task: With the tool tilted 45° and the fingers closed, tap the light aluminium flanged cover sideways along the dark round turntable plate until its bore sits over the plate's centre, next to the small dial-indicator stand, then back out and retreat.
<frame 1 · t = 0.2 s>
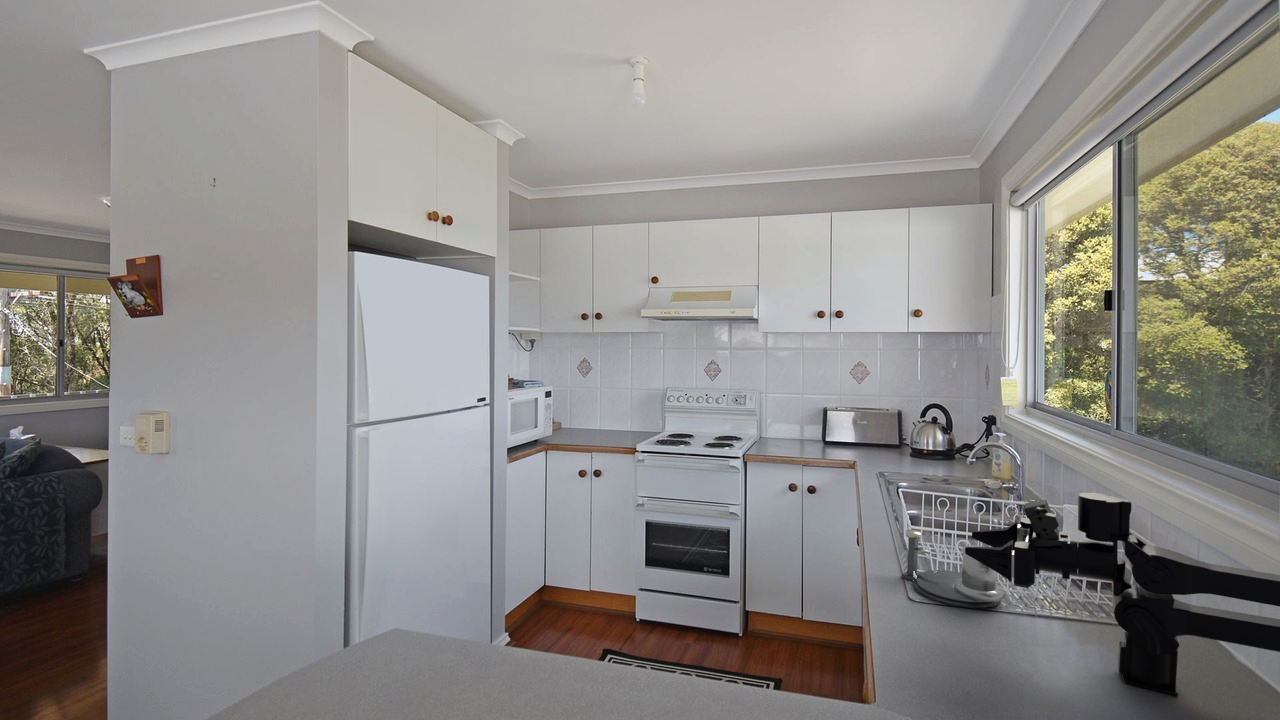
hand: (968, 542, 114), 16 cm above the counter, tool horizontal, fingers open, 9 cm apart
indicator stand: (911, 577, 141), on the counter
turntable: (956, 592, 134), on the counter
cover: (978, 593, 129), point 2 cm above the counter, touching turntable
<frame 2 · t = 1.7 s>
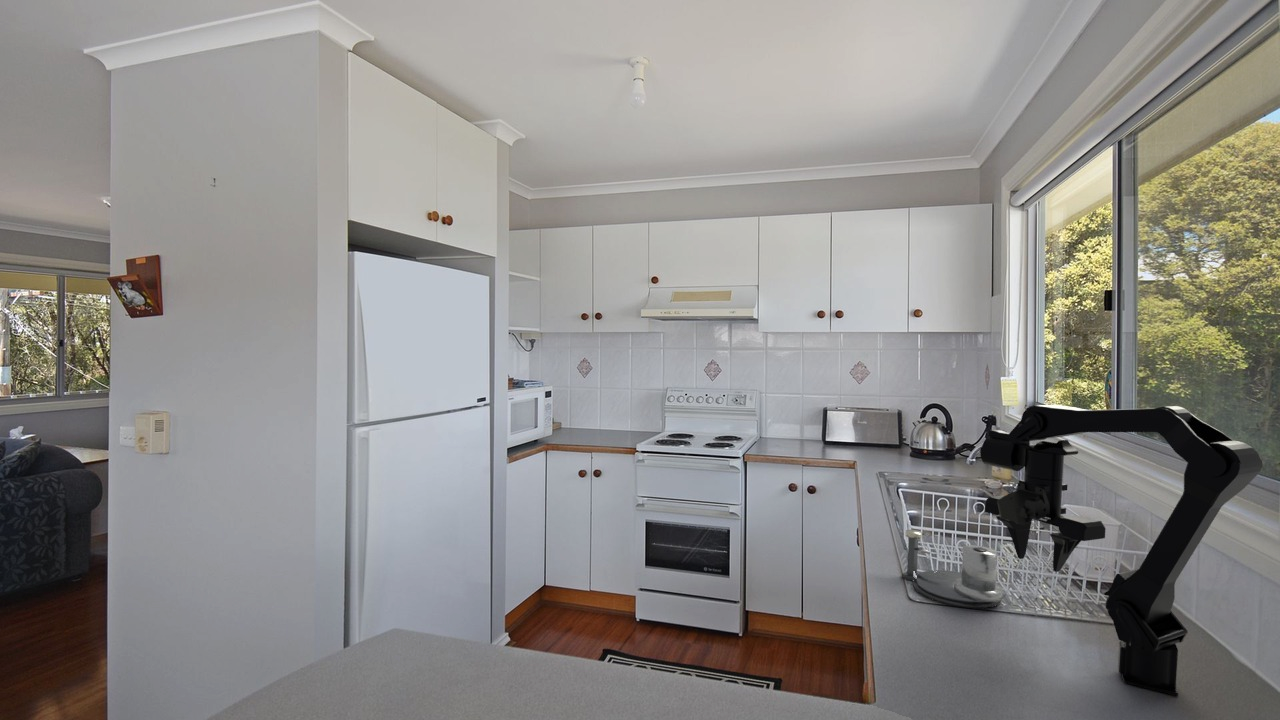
hand: (1038, 564, 116), 12 cm above the counter, tool pointing down, fingers open, 6 cm apart
nothing on the counter moved.
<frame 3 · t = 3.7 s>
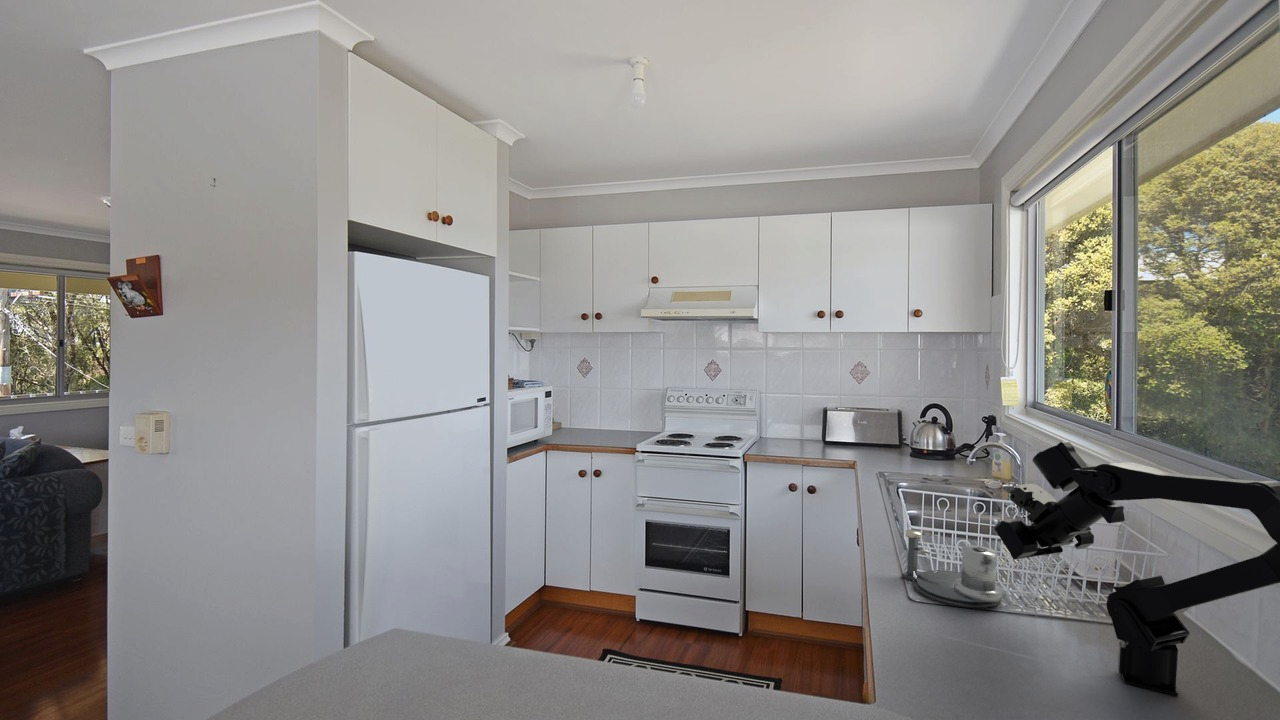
hand: (1013, 556, 122), 11 cm above the counter, tool tilted 45°, fingers closed
nothing on the counter moved.
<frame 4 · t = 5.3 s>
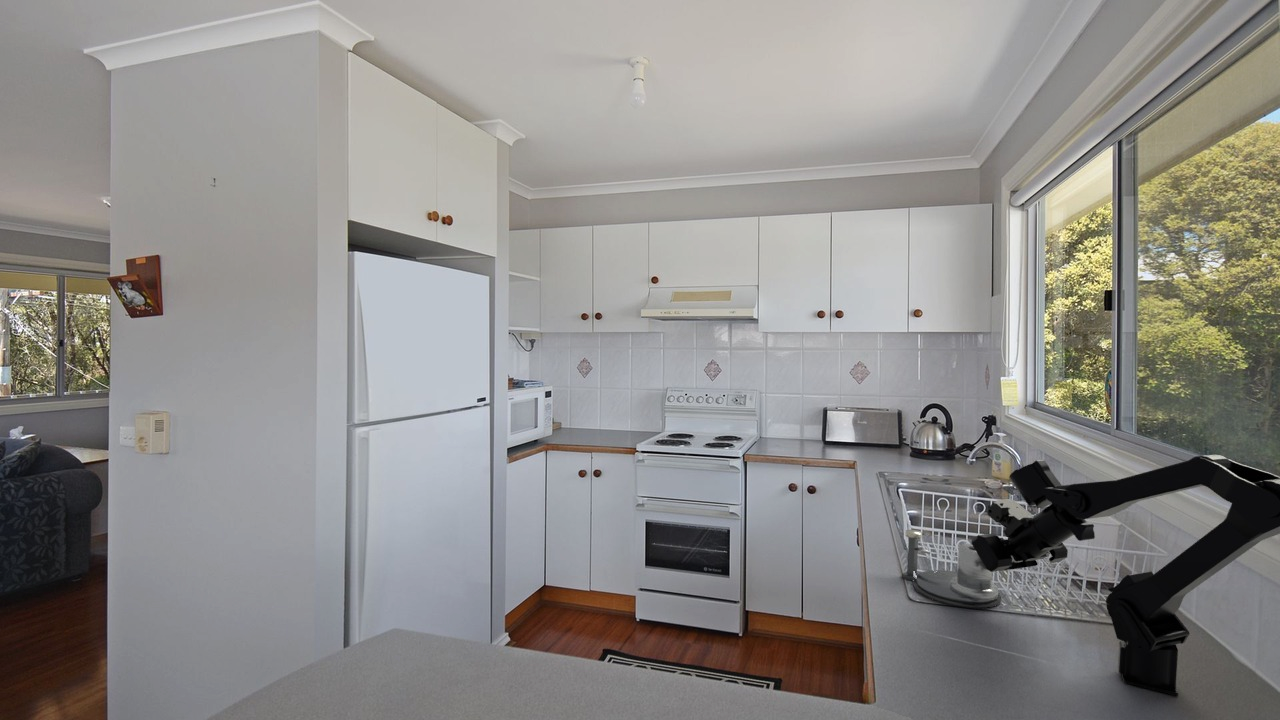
hand: (990, 568, 126), 7 cm above the counter, tool tilted 45°, fingers closed
cover: (973, 591, 129), point 2 cm above the counter, touching gripper, turntable
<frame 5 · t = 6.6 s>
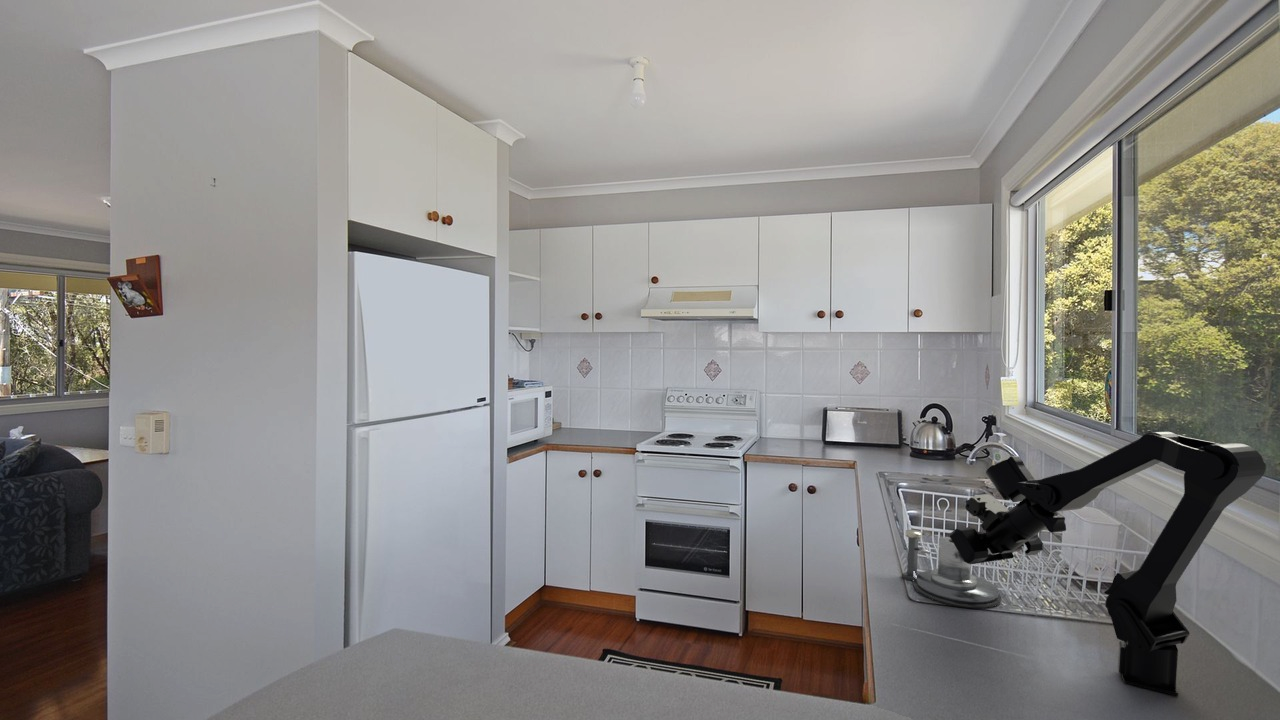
hand: (969, 561, 131), 7 cm above the counter, tool tilted 45°, fingers closed
cover: (953, 582, 134), point 2 cm above the counter, touching turntable
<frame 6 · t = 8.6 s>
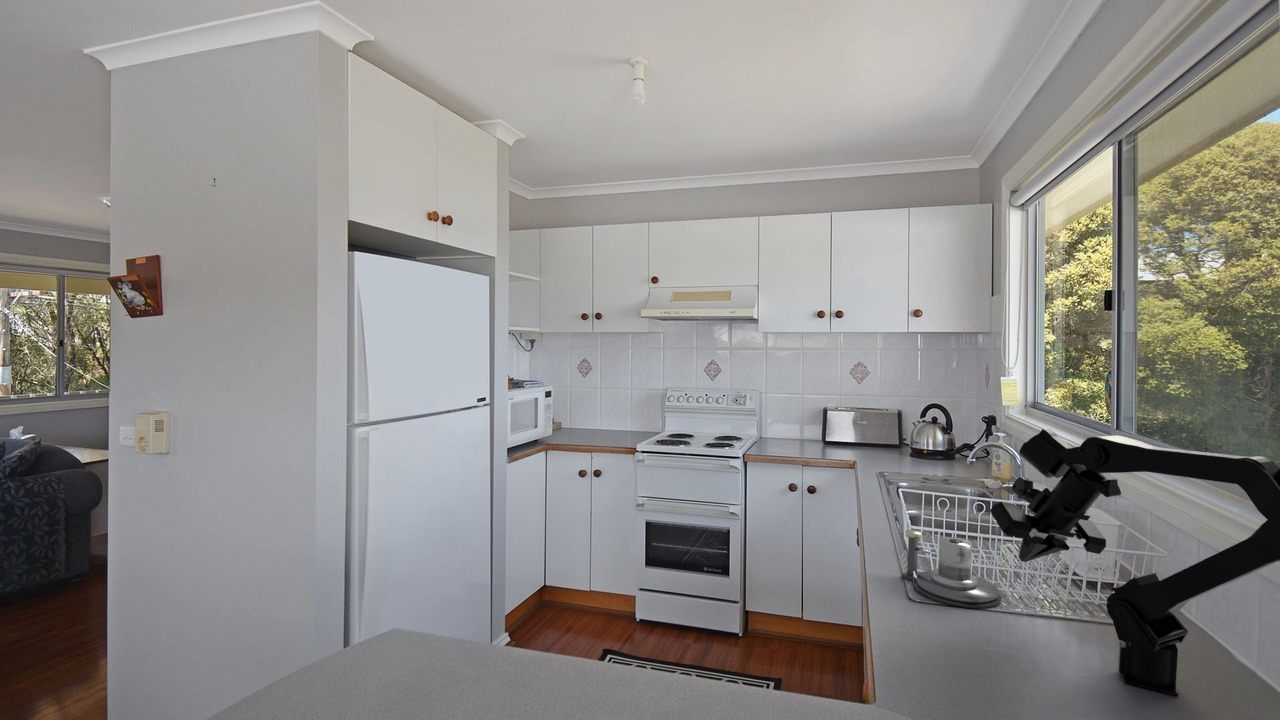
hand: (1021, 559, 119), 12 cm above the counter, tool tilted 30°, fingers closed
nothing on the counter moved.
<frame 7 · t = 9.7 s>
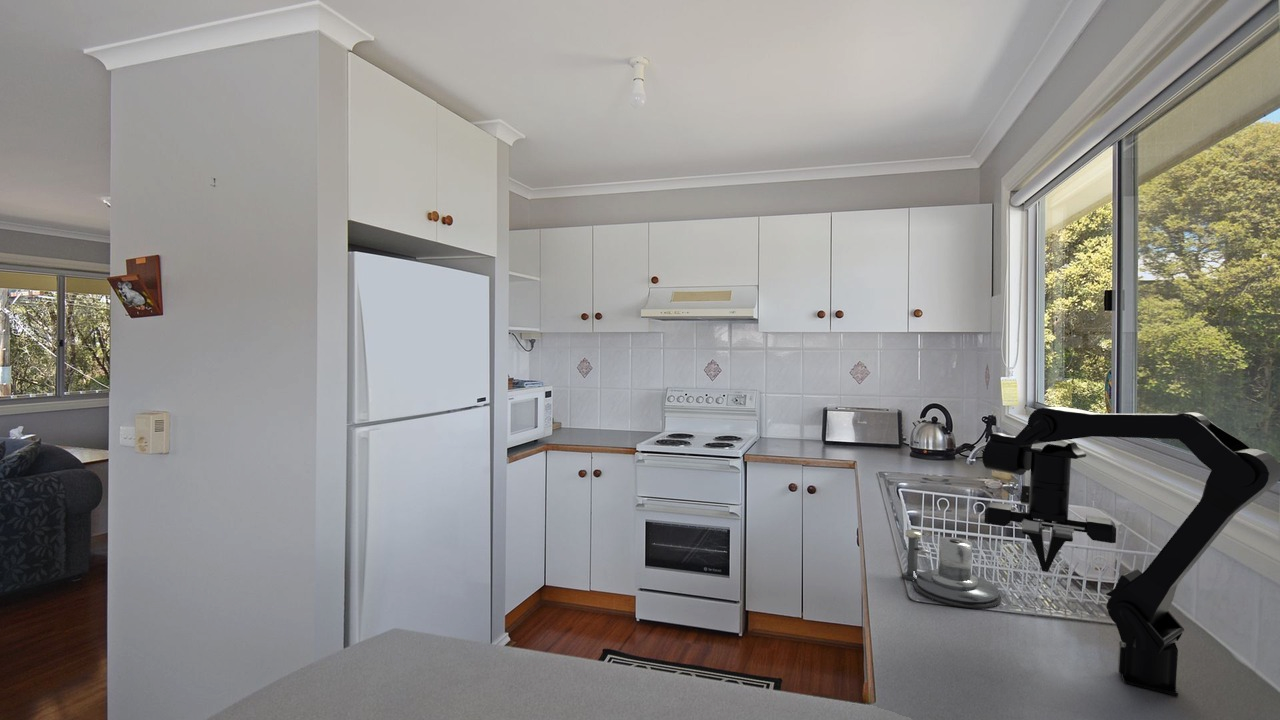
hand: (1045, 571, 113), 12 cm above the counter, tool pointing down, fingers closed
nothing on the counter moved.
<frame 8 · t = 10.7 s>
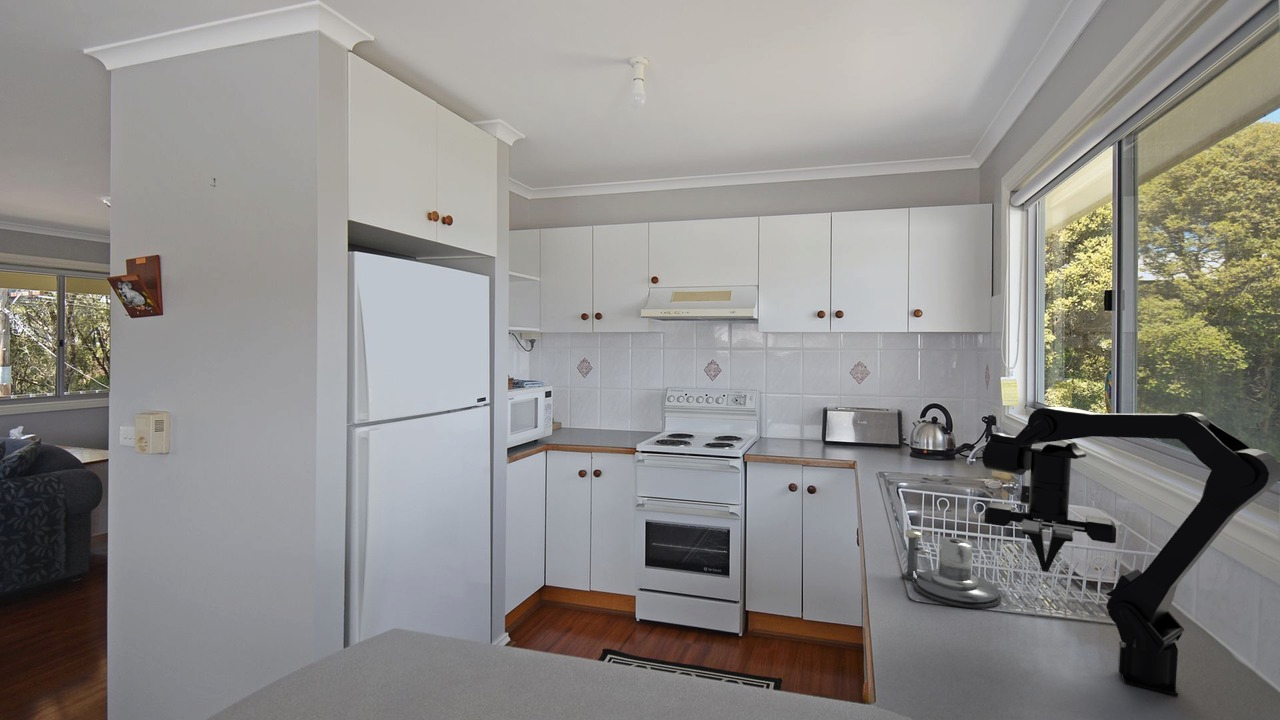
hand: (1045, 571, 113), 12 cm above the counter, tool pointing down, fingers closed
nothing on the counter moved.
at the end: cover 0.5 cm from the turntable (horizontally); cover tilted 0°; cover moved 5.6 cm from its start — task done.
